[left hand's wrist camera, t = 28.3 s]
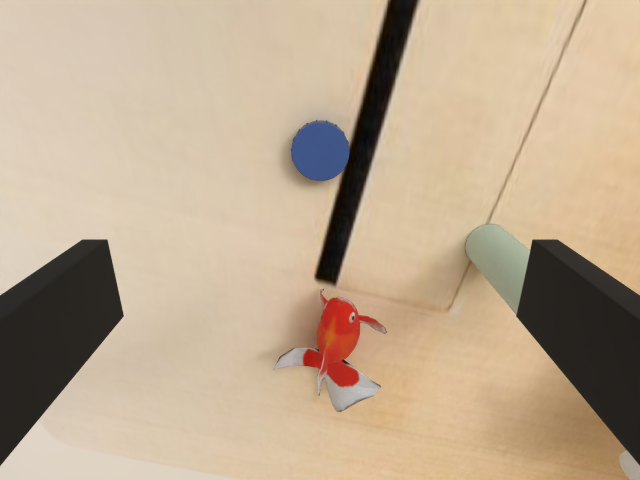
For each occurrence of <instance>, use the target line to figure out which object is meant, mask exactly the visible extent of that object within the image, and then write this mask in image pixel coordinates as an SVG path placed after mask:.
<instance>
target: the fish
mask: <svg viewBox="0 0 640 480" xmlns="http://www.w3.org/2000/svg"><path fill="white" fill-rule="evenodd" d="M323 290H324V289H321V290H320V298H321V302H322V305H323V306H324V307H323V315H322V317H321V322H320V324H319V326H318V331H317V344H318V349H314V348H309V347H302V348H293V349H291V350H290V351H288V352H287V353H285V354H283V355H282V356H280V358H279V360H278V362H277V364H276V365H275V367H274V369H276V368H280V367H286V366H311V367H315V368H317V369H318V370H320V371H319V374H318V380H317V385H318V393H319V395H320V386H321V382H322V380H323V379H324V378H325V380H326V384H327V388H328V392H329V395H330V398H331V401H332V404H333V406H334V408H335V410H336V411H337V412H341V411H343V410H345V409H347V408H349V407H350V406H352V405H354V404H356V403H358V402H359V401H361V400H364V399H367V398H369V397H372V396H373V395H374V394H375V393H376V392H377V391H378V390H379V389H380V388H381V386H380V385H378V384H376V383H375V382H373V381H371V380H370V379H369V378H368V377H366V376H365V375H364V374H362V373H361V372H360V371H358V370H357V369H356V368H354V367H353V366H352V365H350V364H349V363H347V362H346V361H345V360H343V359H345V358H347V357H348V356H349V355H350V353H351V352H352V351H353V349H354V348H355V346H356V344H357V342H358V339H359V334H360V322H361V323H367V324H369V325H370V326H371V327H372V328H374V329H375V330H378V331H380V332H383V333H386V329H385V328H384V327H383V326H382V325H381V324H379V323H378V322H377V321H376V320H375V319H373V318H370V317H368V316H362V315H358V312H357V309H356V308H355V306H354V305H353V303H351V302H350V301H349V300H347V299H345V298H341V297H335V298H332V299H330V300H329V301H327V300H326V299H325V298H324V297H323V296H322V294H321V292H322V291H323ZM274 369H273V370H274Z"/></svg>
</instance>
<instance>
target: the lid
mask: <svg viewBox="0 0 640 480" xmlns="http://www.w3.org/2000/svg"><path fill="white" fill-rule="evenodd" d="M293 141H294V142H293V145H292V149H291V151H292V158H293V162H294V164H295V166H296V168H297V169H298V170H299V172H300V173H301V174H303V175H304V176H305V177H307V178H309V179H312V180H316V181H324V180H329V179H332V178H334V177H335V176H337V175H338V174H340V173H341V172H342V170H343V169H344V168H345V166H346V164H347V162H348V158H349V154H350V152H349V146H348V144H349V142H348V140H346V137H345V135H344V132H343V131H341V130H340V129H339V128H338V127H337V125H336V124H335V125H334V124H333V123H330V122H327V120H326V121H317V120H316V121H314V122H311V123H307V124H306V125H305V126H304V127H302V128H301V129H299V131H298V133H297V135H296V137H295V138H294V139H293Z"/></svg>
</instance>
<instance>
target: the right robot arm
mask: <svg viewBox="0 0 640 480" xmlns="http://www.w3.org/2000/svg"><path fill="white" fill-rule="evenodd" d="M619 461H620V466H621V468H622V470H623V472H624V473H625V475H626V476H627V478H628V479H629V480H640V465H639V464H638V463H637V462H636V461H635V459H634V458H633V457H632V456H631V455H630V453H629V452H628V451H627V450H625V451H624V452H623V453H621V454H620V456H619Z"/></svg>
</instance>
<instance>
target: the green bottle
mask: <svg viewBox="0 0 640 480" xmlns="http://www.w3.org/2000/svg"><path fill="white" fill-rule="evenodd" d="M465 250H466V254H467V256H468V257H469V259H470V260H471V261H472V262H473V263H474V265H475V266H476V267H477V268H478V269H479V271H480V272H481V273H482V274H483V275H484V277H485V278H486V279H487V280H488V281H489V283H490V284H491V285H492V286H493V287H494V289H495V290H496V291H497V292H498V293H499V295H500V296H501V297H502V298H503V300H504V301H505V302H506V303H507V304H508V306H509V307H510V308H511V309H512V310H513V312H514V313H515V314H516V315H517V310H518V306H519V301H520V296H521V292H522V287H523V282H524V278H525V273H526V268H527V264H528V259H529V254H530V249H529V248H527V247H526V246H525V245H524V244H522V243H521V242H520V241H519V240H517V239H516V238H515V237H514V236H513V235H511V234H510V233H509V232H508V231H506V230H505V229H504V228H503V227H501V226H499V225H495V224H486V225H483V226H480V227H478V228H476V229H475V230H474V231H473V232H472V233H471V234H470V235H469V237H468V239H467V241H466V245H465Z"/></svg>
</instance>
